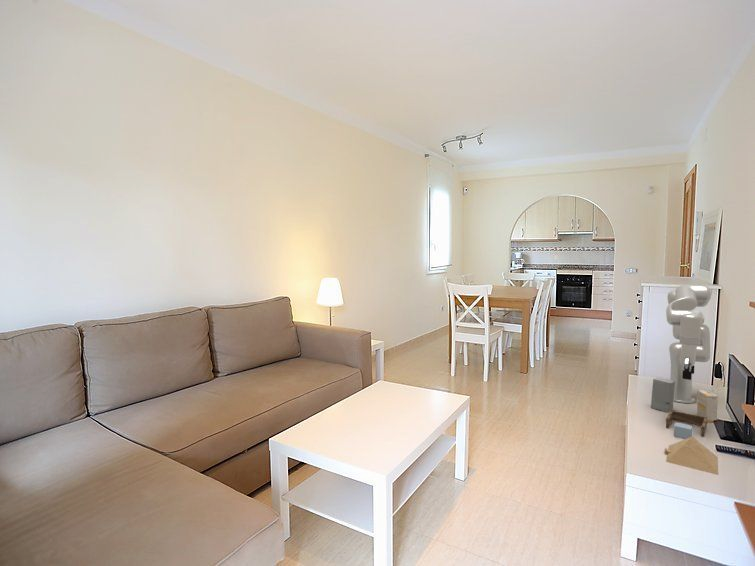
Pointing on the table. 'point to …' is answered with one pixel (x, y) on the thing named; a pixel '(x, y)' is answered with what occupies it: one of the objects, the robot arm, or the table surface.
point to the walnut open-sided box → (687, 420)
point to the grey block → (682, 430)
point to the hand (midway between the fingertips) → (688, 376)
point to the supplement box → (707, 405)
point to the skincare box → (662, 394)
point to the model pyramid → (692, 455)
